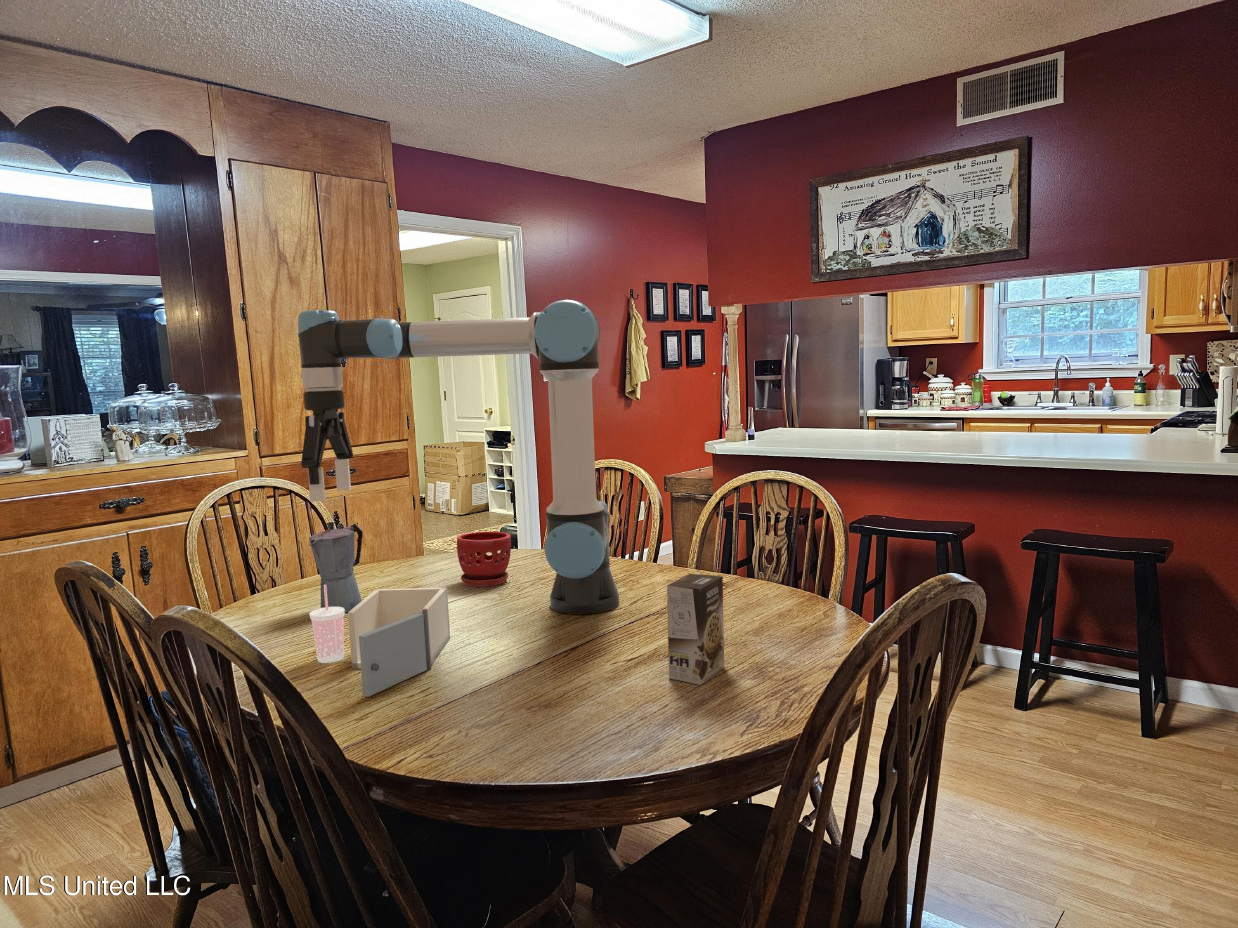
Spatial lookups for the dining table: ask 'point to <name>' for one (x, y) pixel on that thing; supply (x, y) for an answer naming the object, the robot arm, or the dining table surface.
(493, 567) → the plant pot
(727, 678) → the dining table surface
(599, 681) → the dining table surface
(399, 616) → the cubby
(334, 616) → the beverage cup
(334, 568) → the moka pot
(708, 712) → the dining table surface
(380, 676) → the door
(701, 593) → the coffee box
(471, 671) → the dining table surface
